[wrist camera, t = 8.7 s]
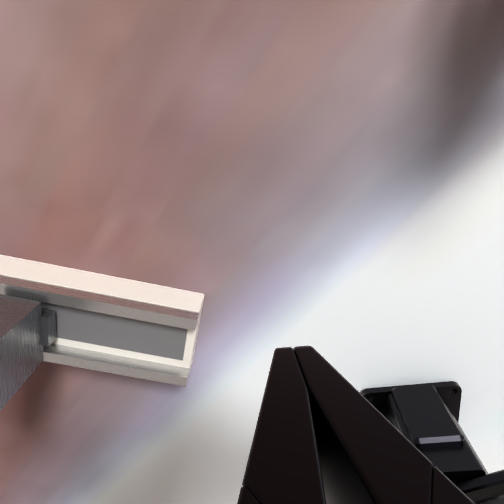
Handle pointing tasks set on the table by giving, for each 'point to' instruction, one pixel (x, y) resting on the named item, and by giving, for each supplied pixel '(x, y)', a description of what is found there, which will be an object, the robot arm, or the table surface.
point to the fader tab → (22, 341)
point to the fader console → (111, 320)
